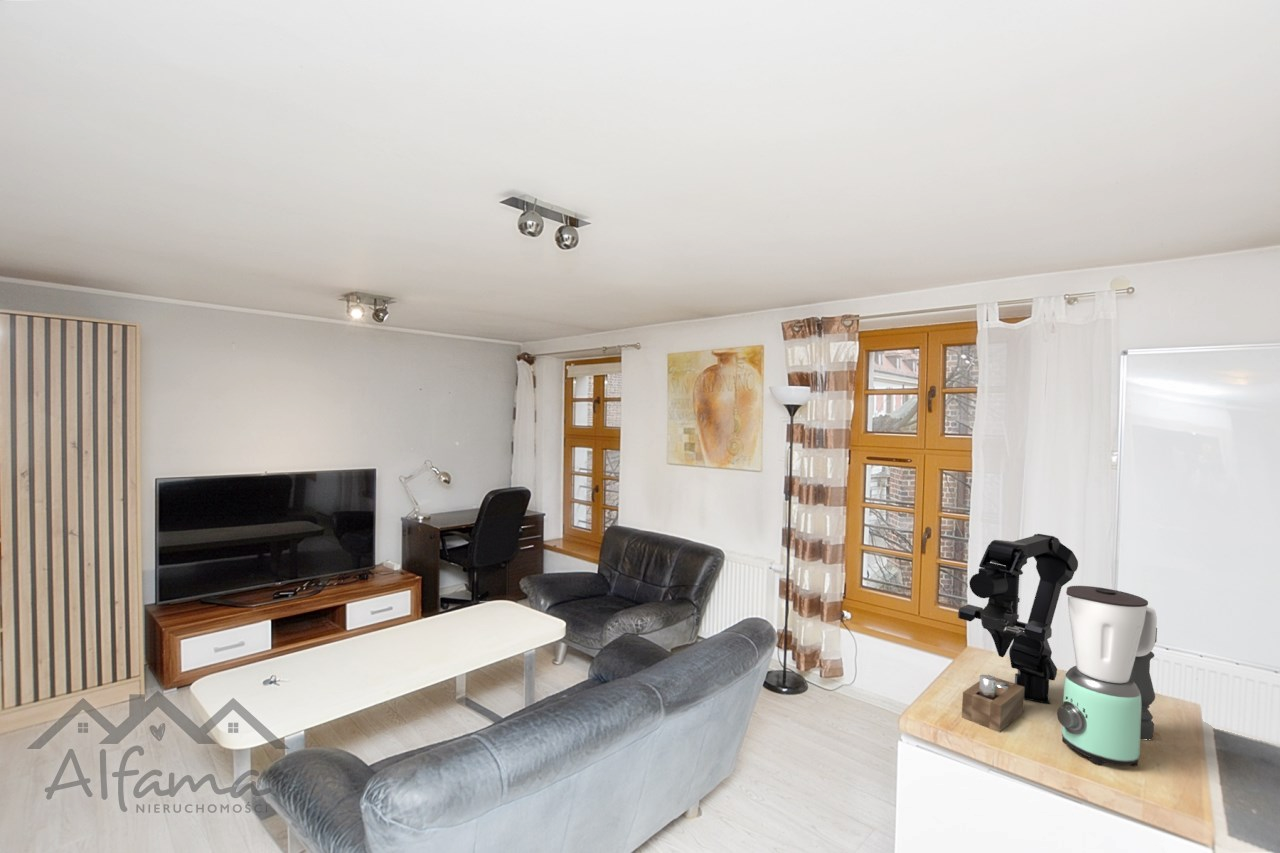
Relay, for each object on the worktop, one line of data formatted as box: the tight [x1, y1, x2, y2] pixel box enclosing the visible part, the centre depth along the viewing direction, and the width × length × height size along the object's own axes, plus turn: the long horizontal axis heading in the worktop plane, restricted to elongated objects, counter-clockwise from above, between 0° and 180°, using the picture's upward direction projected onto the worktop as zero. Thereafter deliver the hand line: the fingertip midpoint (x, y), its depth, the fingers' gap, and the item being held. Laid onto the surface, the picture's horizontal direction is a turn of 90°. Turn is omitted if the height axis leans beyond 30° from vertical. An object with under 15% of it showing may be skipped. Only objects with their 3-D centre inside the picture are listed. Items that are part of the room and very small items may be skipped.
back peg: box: [996, 681, 1009, 689], centre depth 140 cm, size 3×3×6 cm
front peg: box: [979, 674, 996, 700], centre depth 134 cm, size 3×3×6 cm
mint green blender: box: [1056, 585, 1158, 767], centre depth 122 cm, size 19×13×35 cm
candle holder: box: [1130, 627, 1158, 741], centre depth 131 cm, size 6×6×25 cm
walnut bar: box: [961, 674, 1025, 733], centre depth 137 cm, size 8×16×6 cm, turn 130°
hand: (1001, 656), depth 140 cm, fingers closed
